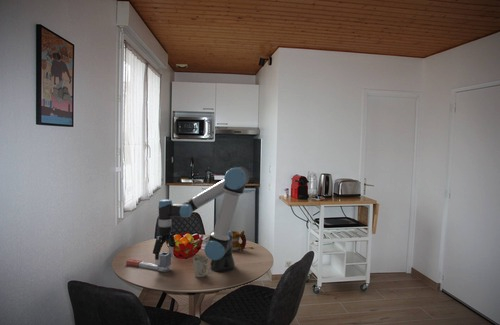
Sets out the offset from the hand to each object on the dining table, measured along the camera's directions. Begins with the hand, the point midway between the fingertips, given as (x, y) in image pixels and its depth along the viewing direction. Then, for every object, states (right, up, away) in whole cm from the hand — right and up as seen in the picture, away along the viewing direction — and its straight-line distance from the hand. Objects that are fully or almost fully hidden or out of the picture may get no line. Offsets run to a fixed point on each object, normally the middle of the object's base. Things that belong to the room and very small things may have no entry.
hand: (164, 261), depth 190 cm
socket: (0, -3, 0) cm, 3 cm away
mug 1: (+24, -7, -7) cm, 26 cm away
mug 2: (+40, -5, +41) cm, 58 cm away
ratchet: (-11, -5, +4) cm, 13 cm away
